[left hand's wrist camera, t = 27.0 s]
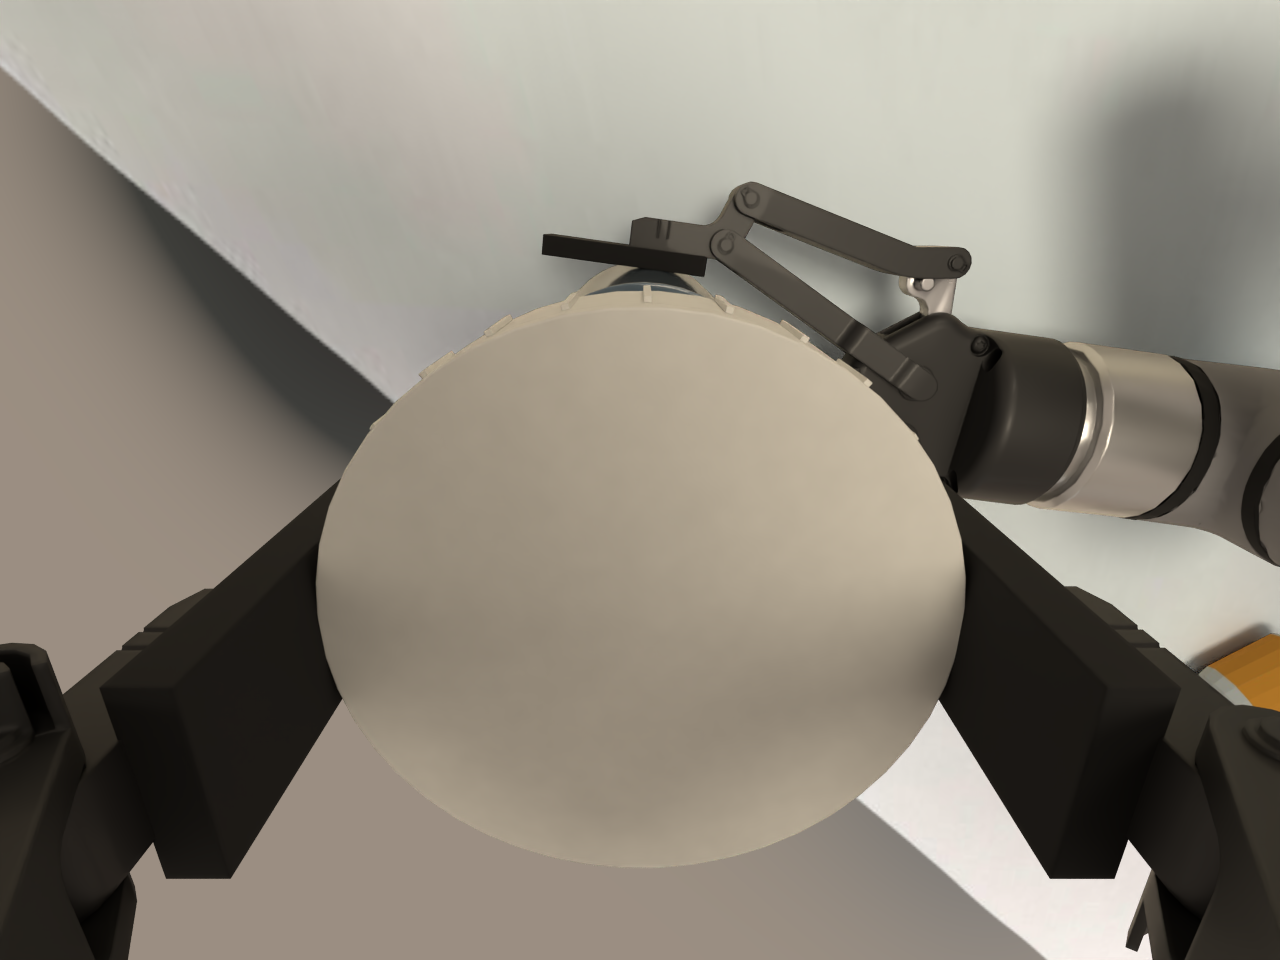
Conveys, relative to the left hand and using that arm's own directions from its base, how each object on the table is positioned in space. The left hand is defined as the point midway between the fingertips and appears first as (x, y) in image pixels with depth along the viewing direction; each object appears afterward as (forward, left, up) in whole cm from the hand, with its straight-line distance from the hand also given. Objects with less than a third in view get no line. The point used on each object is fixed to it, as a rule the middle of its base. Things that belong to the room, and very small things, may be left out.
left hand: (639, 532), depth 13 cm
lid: (0, 0, +3) cm, 3 cm away
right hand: (-3, -3, -17) cm, 18 cm away
